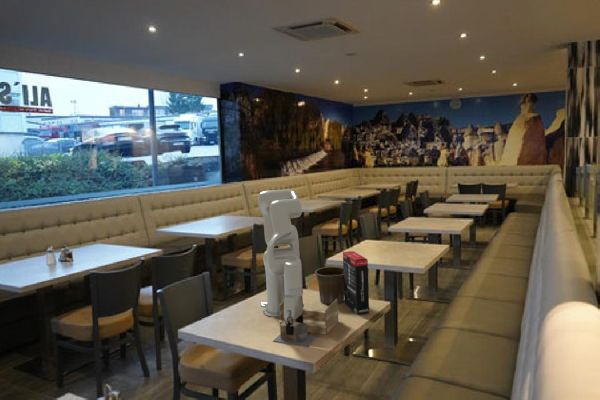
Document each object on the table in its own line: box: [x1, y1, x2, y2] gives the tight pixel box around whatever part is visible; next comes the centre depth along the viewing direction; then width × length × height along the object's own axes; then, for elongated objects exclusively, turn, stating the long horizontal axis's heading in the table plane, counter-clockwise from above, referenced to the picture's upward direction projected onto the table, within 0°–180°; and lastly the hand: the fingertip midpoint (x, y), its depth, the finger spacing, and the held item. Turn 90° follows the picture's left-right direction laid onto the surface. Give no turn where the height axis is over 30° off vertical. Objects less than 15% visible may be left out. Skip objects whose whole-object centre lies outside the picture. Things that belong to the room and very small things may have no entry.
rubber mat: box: [272, 334, 318, 348], centre depth 191 cm, size 16×10×1 cm, turn 67°
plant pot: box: [314, 266, 345, 306], centre depth 234 cm, size 16×16×16 cm
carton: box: [278, 299, 340, 335], centre depth 204 cm, size 22×18×11 cm
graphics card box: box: [342, 250, 370, 316], centre depth 221 cm, size 17×7×27 cm, turn 17°
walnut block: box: [279, 321, 308, 342], centre depth 191 cm, size 10×5×6 cm, turn 66°
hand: (295, 330), depth 191 cm, fingers open, 9 cm apart
